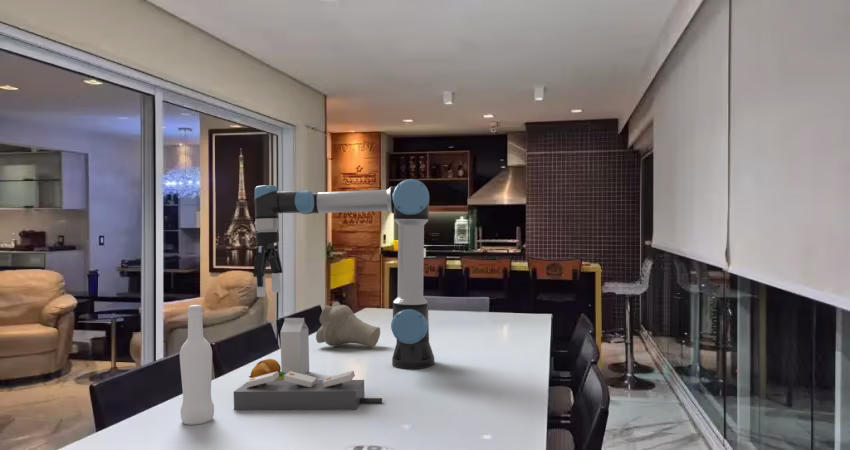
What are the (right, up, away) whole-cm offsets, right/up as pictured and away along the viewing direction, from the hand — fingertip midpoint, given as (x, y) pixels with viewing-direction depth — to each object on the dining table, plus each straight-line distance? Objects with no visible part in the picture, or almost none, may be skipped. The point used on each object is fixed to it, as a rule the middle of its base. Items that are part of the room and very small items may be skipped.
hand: (269, 294), depth 200 cm
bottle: (-7, -28, -46) cm, 54 cm away
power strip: (+21, -27, -33) cm, 47 cm away
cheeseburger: (+4, -28, -16) cm, 32 cm away
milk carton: (+9, -28, +2) cm, 29 cm away
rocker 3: (+28, -20, -34) cm, 48 cm away
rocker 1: (+6, -20, -32) cm, 38 cm away
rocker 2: (+17, -20, -33) cm, 42 cm away
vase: (+22, -28, +45) cm, 57 cm away
